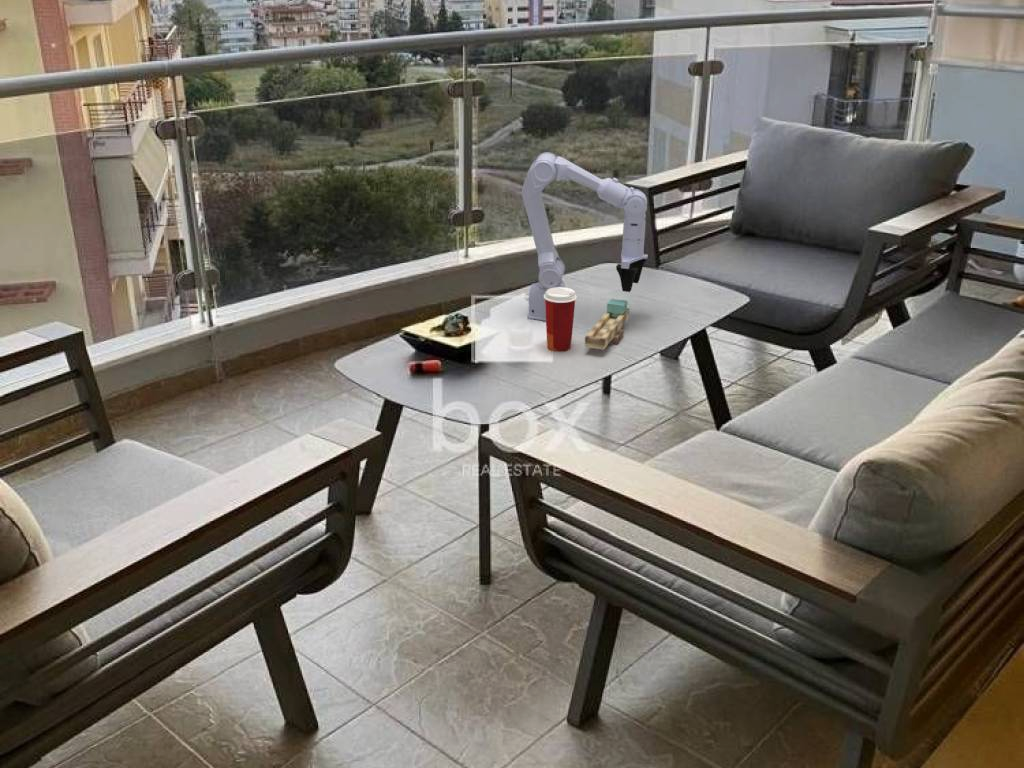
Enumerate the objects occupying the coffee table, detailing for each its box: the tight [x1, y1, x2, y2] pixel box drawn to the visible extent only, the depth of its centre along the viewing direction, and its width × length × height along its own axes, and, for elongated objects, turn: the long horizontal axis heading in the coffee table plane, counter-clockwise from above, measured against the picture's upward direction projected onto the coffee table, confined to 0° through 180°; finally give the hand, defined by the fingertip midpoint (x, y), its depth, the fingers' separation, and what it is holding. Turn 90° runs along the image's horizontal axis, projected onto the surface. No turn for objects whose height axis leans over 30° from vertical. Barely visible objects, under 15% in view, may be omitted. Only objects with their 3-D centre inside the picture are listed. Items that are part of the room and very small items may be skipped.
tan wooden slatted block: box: [584, 307, 630, 351], centre depth 263 cm, size 24×7×5 cm, turn 159°
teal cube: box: [606, 298, 628, 318], centre depth 269 cm, size 4×4×4 cm
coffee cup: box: [544, 286, 578, 353], centre depth 255 cm, size 8×8×15 cm
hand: (630, 286), depth 271 cm, fingers open, 7 cm apart
